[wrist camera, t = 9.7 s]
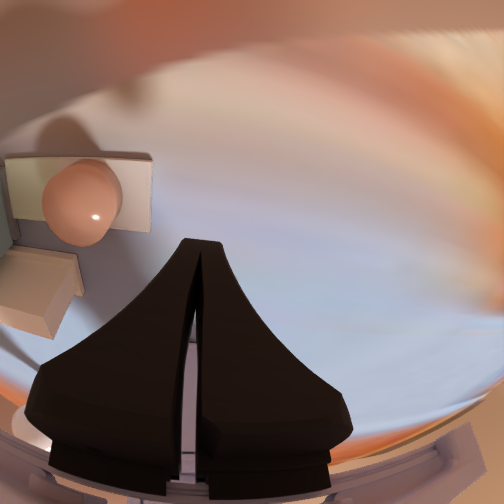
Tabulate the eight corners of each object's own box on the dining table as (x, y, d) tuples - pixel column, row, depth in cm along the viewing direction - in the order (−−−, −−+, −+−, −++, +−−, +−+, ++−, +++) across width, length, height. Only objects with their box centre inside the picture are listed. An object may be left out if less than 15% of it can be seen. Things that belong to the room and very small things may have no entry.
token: (110, 238, 14) (98, 258, 13) (54, 210, 13) (37, 227, 11) (133, 177, 13) (120, 191, 11) (70, 147, 11) (50, 158, 10)
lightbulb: (21, 359, 23) (-4, 434, 14) (56, 366, 23) (33, 452, 14) (46, 386, 26) (29, 455, 17) (81, 393, 27) (67, 469, 18)
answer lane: (150, 230, 15) (149, 232, 14) (16, 216, 13) (13, 218, 13) (153, 160, 13) (151, 162, 12) (7, 158, 11) (4, 160, 11)
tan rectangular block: (84, 291, 17) (60, 346, 13) (-18, 268, 15) (-46, 308, 11) (76, 254, 15) (43, 310, 11) (-29, 237, 13) (-62, 276, 9)
